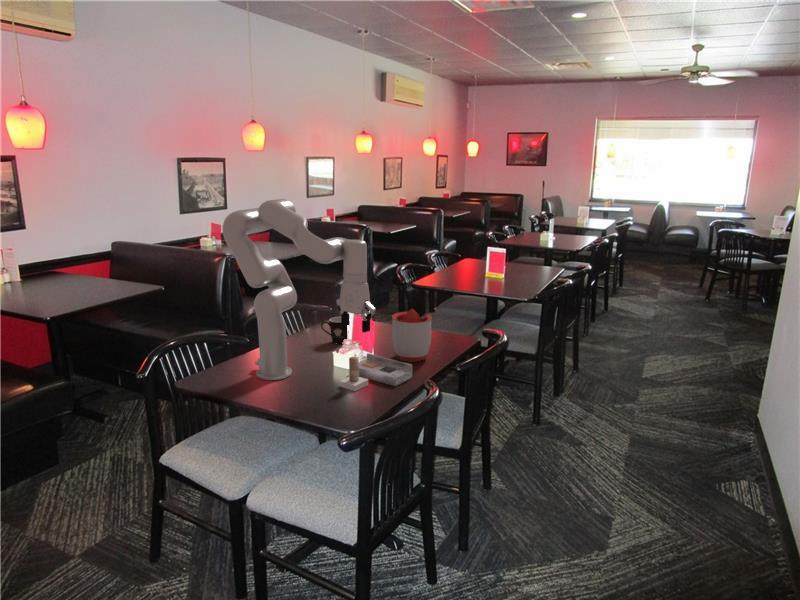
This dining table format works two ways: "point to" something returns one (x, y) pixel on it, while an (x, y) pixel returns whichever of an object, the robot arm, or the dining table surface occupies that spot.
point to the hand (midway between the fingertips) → (355, 328)
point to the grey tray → (385, 370)
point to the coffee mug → (336, 330)
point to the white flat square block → (354, 384)
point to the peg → (353, 369)
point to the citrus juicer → (411, 335)
